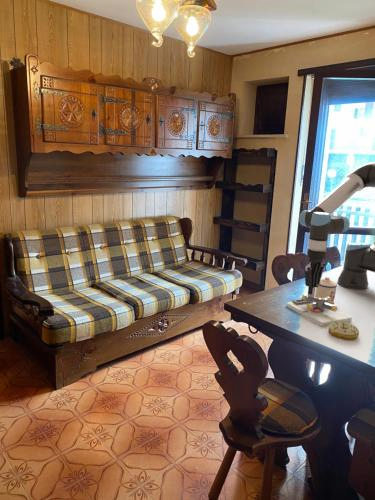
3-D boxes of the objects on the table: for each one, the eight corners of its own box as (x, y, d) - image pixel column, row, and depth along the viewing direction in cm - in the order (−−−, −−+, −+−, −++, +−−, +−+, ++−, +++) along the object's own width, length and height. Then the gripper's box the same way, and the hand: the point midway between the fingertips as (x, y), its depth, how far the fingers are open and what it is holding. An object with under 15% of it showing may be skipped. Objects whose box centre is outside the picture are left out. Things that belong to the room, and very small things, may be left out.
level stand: (313, 301, 179) (314, 295, 179) (351, 321, 160) (352, 314, 159) (285, 306, 172) (286, 299, 172) (320, 326, 153) (322, 319, 152)
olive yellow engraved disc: (327, 326, 154) (329, 317, 153) (356, 331, 151) (358, 322, 150) (328, 337, 145) (329, 328, 144) (359, 343, 141) (360, 334, 140)
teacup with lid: (330, 306, 175) (334, 282, 172) (311, 301, 180) (314, 277, 177) (338, 299, 184) (342, 276, 181) (320, 294, 190) (323, 271, 187)
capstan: (312, 299, 177) (313, 289, 176) (346, 311, 165) (347, 300, 164) (290, 306, 167) (291, 296, 166) (324, 320, 155) (326, 309, 153)
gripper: (317, 245, 171) (311, 295, 177) (300, 249, 163) (294, 300, 169) (333, 249, 165) (326, 300, 171) (315, 253, 157) (309, 306, 164)
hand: (310, 300), depth 170 cm, fingers closed
